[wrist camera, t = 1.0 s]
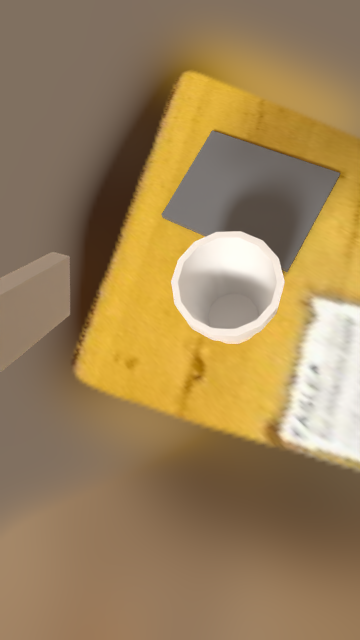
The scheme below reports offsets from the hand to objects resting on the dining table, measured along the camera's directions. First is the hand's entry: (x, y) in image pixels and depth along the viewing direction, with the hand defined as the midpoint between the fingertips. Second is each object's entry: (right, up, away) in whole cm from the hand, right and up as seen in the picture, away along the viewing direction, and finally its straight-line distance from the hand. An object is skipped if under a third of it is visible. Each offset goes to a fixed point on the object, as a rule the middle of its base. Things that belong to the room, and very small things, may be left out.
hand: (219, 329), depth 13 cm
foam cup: (+5, 0, +28) cm, 29 cm away
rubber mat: (+7, +16, +31) cm, 36 cm away
